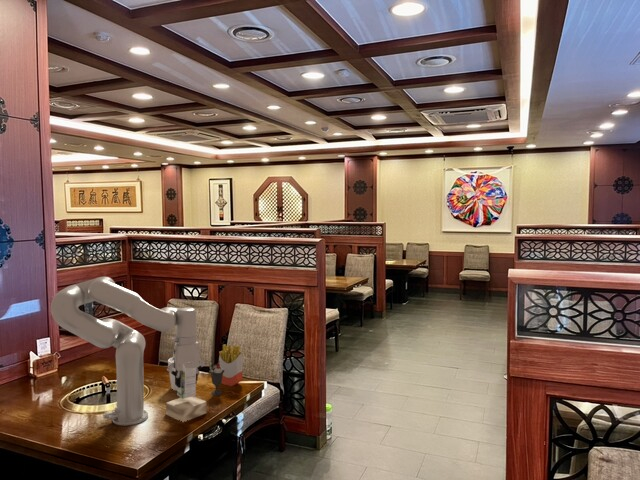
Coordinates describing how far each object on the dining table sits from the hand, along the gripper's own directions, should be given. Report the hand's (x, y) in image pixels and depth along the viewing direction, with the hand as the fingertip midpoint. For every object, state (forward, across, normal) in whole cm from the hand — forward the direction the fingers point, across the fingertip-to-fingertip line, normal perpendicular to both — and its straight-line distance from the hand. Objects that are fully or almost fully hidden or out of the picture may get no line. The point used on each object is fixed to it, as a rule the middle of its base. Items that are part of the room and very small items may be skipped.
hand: (186, 384), depth 184 cm
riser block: (+12, 0, 0) cm, 12 cm away
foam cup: (+12, +8, +28) cm, 31 cm away
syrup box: (+5, 0, 0) cm, 5 cm away
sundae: (+12, +19, +12) cm, 25 cm away
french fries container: (+12, +29, +19) cm, 37 cm away
